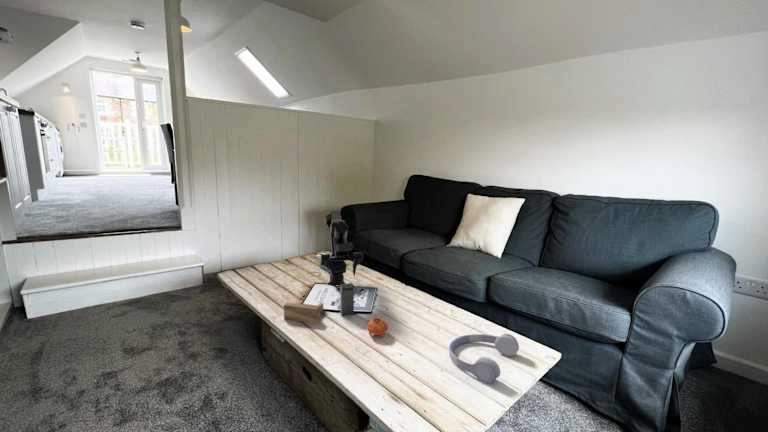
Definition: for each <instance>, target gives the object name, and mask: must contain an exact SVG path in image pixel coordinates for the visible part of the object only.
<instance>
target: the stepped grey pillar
mask: <svg viewBox="0 0 768 432" xmlns="http://www.w3.org/2000/svg"><path fill="white" fill-rule="evenodd" d="M339 287H340V290H339V293H340V295H339V296H340V297H339V298H340V302H339V305H340V309H339V310H340V311H339V312H340V316H341V317H347V316H354V314H355V313H354V310H355V308H354V306H355V305H354V304H355V301H354V300H355V299H354V298H355V296H354V295H355V291H354V290H355V287H354V284H353V282H349V283H346V282H345V283H344V284H340V286H339Z"/></svg>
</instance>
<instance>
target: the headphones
mask: <svg viewBox="0 0 768 432" xmlns="http://www.w3.org/2000/svg"><path fill="white" fill-rule="evenodd" d="M469 343H488V344H494V347H495V349H496V350H497V352H499V353H500V354H502V355H503V356H506V357H513V356H516V355H517V354H518V351H519V349H520V346H519V342H518V340H517V339H516V337H515V336H514V335H512V334H509V333H504V334H501V335H498V336H497V335H493V334H480V333H475V334H472V333H471V334H466V335H462V336H458V337H456V338H454V339H453V340H452V341H451V342H450V343H449V347H448V348H449V358H450V360H451V362H452V363H453V364H454V365H455V366H456V367H457V368H459V369H460V370H463V371H465V372H467V373H469V374H471V375H473V376H475V377H476V378H477V380H479V381H480V382H482V381H483V383H485V384H491V383H492V382H493V381H495V380H496V379H498V378H499V377H500V376H501V368H500V366H499V364H498V362H496V360H494V359H492V358H491V357H488V356H481V357H479V358H478V359H477V360H476V361H475V362H474V363H470V362H467V361H464V360H462V359H460V358H458V357H457V356H456V355H455V354H454V350H455V349H456V348H458V347H459V346H461V345H464V344H469Z"/></svg>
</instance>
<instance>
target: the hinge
mask: <svg viewBox="0 0 768 432" xmlns="http://www.w3.org/2000/svg"><path fill="white" fill-rule="evenodd" d="M322 254H326V253H325V252H320V253H319V254H316V256H315V258H316V263H317V265H318V266H319V267H321V268H322V269H324V270H326V271H328V269H327V268H326V267H324V265H321V263H320V259H321V255H322Z"/></svg>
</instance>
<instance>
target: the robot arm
mask: <svg viewBox="0 0 768 432" xmlns="http://www.w3.org/2000/svg"><path fill="white" fill-rule="evenodd" d="M324 223H325V226H326V230H327V231H328V232H329V235H330V247H331V248H330V249H331V254H330V253H325V254H322V255H321V259H320V263H321V265H324V267H326V268H327V269H328V270H327V273H328V275H329V282H327V284H328V285H330V284H332V285H331V286H333V285H340V284H346V282H345V279H344V277H345V276H344V274H346V272H347V267H348V266H347V263H346V261H352V275H353V276H354V277H355V275H356V272H357V271H356V270H357V266H359V265H360V264H362V263H363V260H364V253H362V252H360V251H359V252H353V255H349V253H350V251H353V249H354V246H353V242H352V241H349V242H347V237H348V231H349V229H350V227H349V226H348V225H347V224H348V223H346V221H345V220H343V219H342V215H341V214H340V211H338V210H332V211H329V213H327V215H325V222H324Z"/></svg>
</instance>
